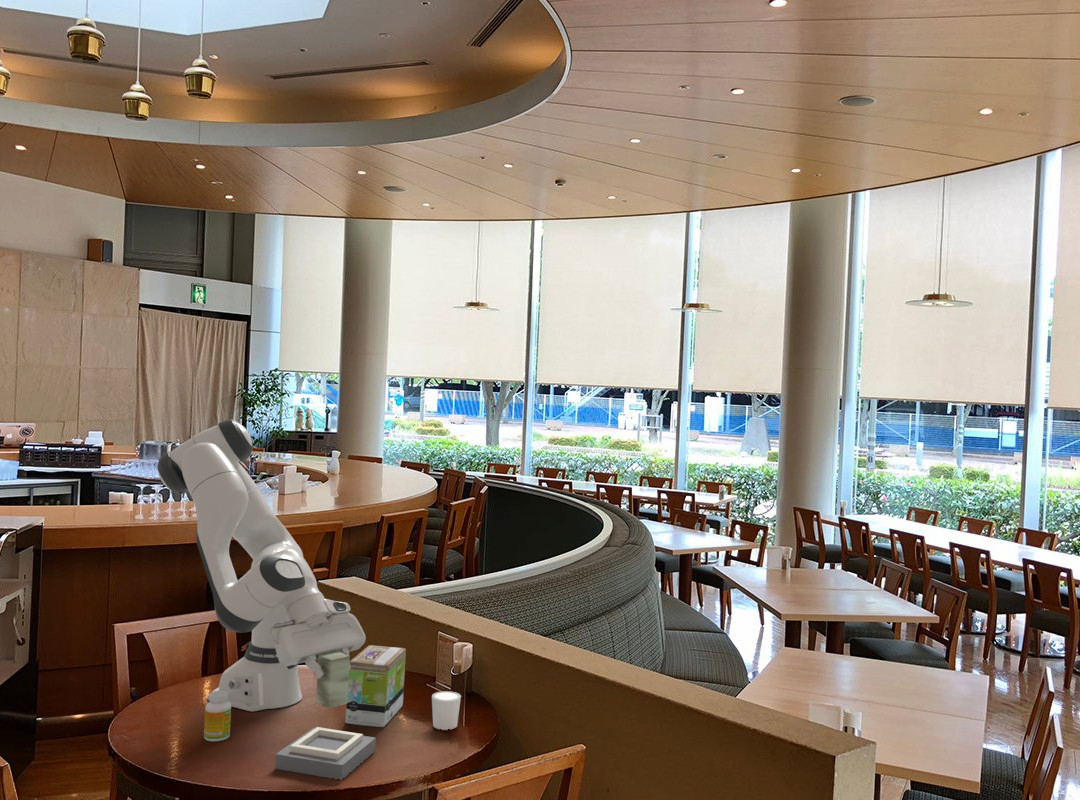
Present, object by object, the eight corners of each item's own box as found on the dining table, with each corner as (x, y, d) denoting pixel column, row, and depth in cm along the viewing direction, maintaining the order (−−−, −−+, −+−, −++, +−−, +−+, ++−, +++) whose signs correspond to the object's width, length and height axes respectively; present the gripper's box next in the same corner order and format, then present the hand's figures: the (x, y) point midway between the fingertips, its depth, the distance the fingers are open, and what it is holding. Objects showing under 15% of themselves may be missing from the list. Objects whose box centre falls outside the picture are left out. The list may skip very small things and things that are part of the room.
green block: (316, 702, 182) (318, 655, 182) (334, 697, 185) (336, 650, 185) (329, 708, 179) (331, 660, 179) (347, 703, 182) (349, 655, 182)
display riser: (275, 768, 177) (275, 748, 177) (313, 741, 191) (313, 722, 191) (341, 780, 173) (342, 759, 173) (375, 751, 187) (376, 732, 187)
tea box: (386, 728, 200) (388, 664, 200) (344, 724, 202) (346, 661, 202) (404, 706, 215) (406, 646, 215) (365, 702, 217) (367, 643, 217)
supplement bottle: (227, 741, 189) (229, 697, 189) (201, 742, 188) (203, 697, 188) (231, 732, 194) (233, 689, 194) (206, 732, 193) (208, 689, 193)
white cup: (454, 732, 200) (456, 702, 200) (426, 728, 201) (427, 698, 201) (463, 721, 206) (464, 692, 206) (435, 718, 208) (437, 689, 208)
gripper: (273, 616, 179) (298, 675, 172) (354, 602, 194) (380, 655, 188) (260, 633, 182) (285, 692, 175) (341, 618, 197) (366, 671, 191)
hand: (335, 673), depth 182 cm, fingers closed on green block, 5 cm apart
